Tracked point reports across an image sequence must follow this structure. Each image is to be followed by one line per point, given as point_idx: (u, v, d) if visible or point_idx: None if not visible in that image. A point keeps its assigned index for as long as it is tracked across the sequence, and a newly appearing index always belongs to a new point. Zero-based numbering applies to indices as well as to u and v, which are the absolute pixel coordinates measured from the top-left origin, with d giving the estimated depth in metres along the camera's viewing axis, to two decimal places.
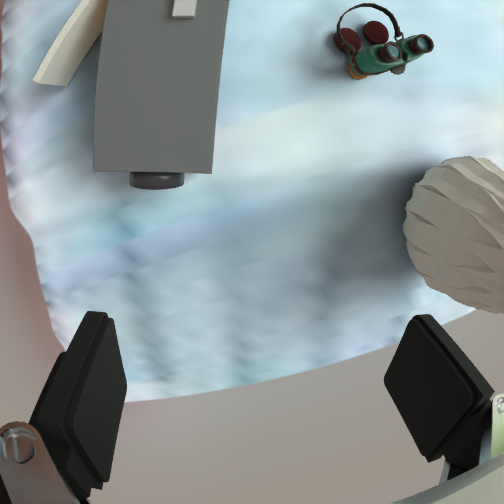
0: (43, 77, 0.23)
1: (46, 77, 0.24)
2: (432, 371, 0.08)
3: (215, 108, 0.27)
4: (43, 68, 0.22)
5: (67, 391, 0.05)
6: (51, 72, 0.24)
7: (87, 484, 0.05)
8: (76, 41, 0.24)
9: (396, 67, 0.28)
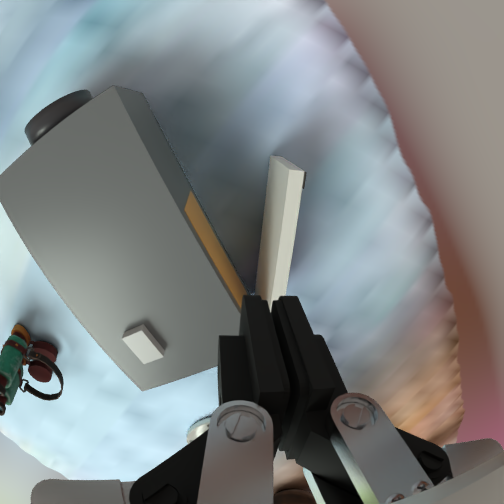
0: (286, 179, 0.20)
1: (284, 178, 0.21)
2: (281, 356, 0.08)
3: (31, 253, 0.19)
4: (291, 194, 0.20)
5: (273, 362, 0.07)
6: (281, 186, 0.21)
7: None
8: (271, 235, 0.24)
9: None
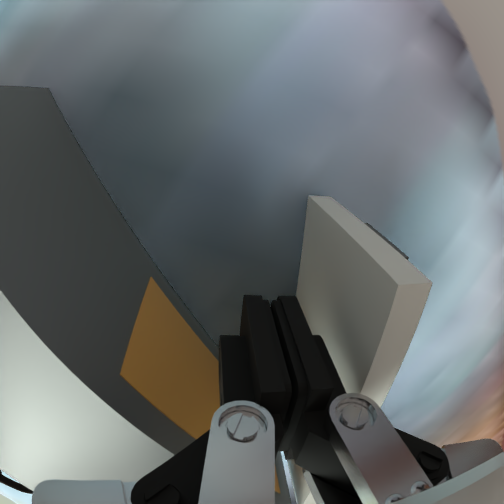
0: (381, 302, 0.07)
1: (370, 291, 0.07)
2: None
3: None
4: (392, 340, 0.07)
5: (275, 362, 0.07)
6: (357, 302, 0.08)
7: None
8: None
9: None
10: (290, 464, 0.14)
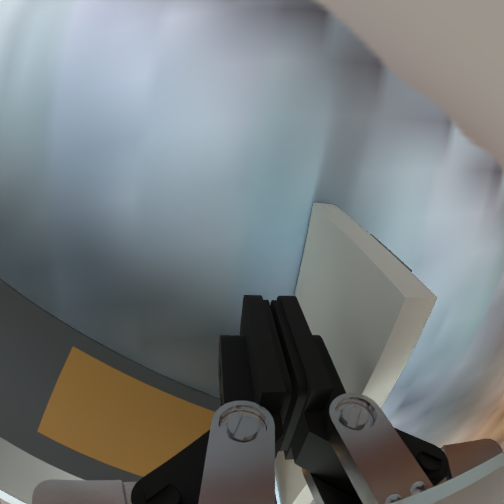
0: (386, 314, 0.07)
1: (375, 301, 0.08)
2: None
3: None
4: (394, 351, 0.07)
5: (275, 362, 0.07)
6: (361, 311, 0.08)
7: None
8: None
9: None
10: (276, 468, 0.14)
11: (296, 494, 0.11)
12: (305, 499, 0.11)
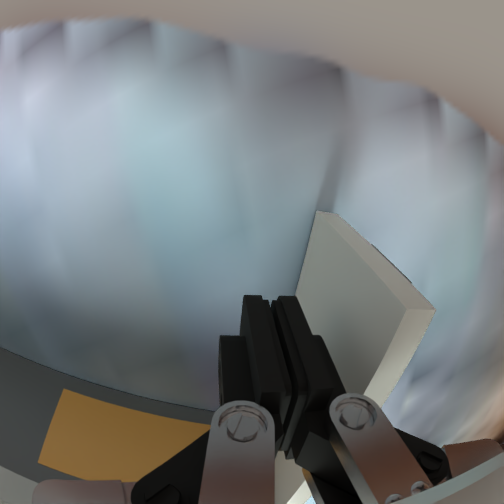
0: (387, 324, 0.07)
1: (376, 311, 0.08)
2: None
3: None
4: (393, 360, 0.07)
5: (274, 362, 0.07)
6: (361, 320, 0.08)
7: None
8: None
9: None
10: None
11: (289, 497, 0.11)
12: (297, 502, 0.11)
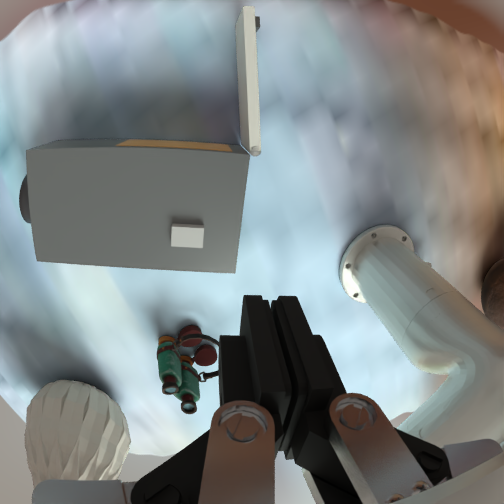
0: (242, 14, 0.22)
1: (241, 16, 0.23)
2: None
3: (86, 263, 0.29)
4: (248, 21, 0.22)
5: (275, 362, 0.07)
6: (241, 24, 0.23)
7: None
8: (241, 65, 0.26)
9: None
10: (245, 142, 0.30)
11: (248, 117, 0.26)
12: (254, 124, 0.26)
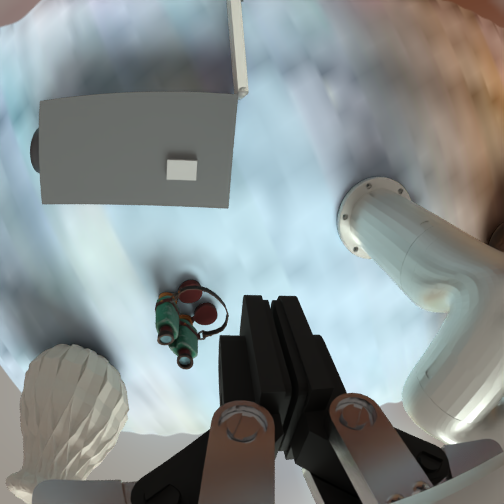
0: None
1: None
2: None
3: (87, 203, 0.31)
4: None
5: (274, 362, 0.07)
6: None
7: None
8: (230, 25, 0.28)
9: None
10: (236, 89, 0.31)
11: (235, 63, 0.27)
12: (242, 68, 0.27)
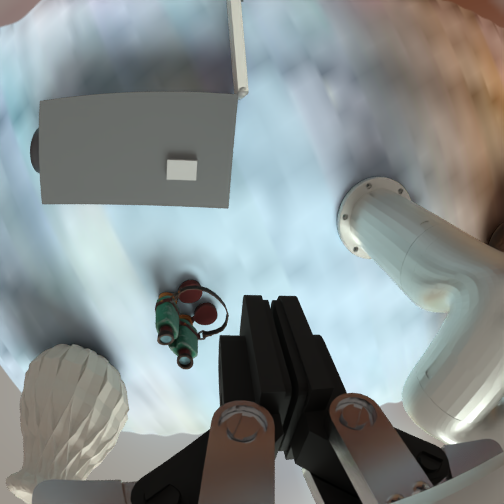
0: None
1: None
2: None
3: (87, 203, 0.31)
4: None
5: (275, 362, 0.07)
6: None
7: None
8: (230, 25, 0.28)
9: None
10: (236, 89, 0.31)
11: (235, 63, 0.27)
12: (242, 68, 0.27)
